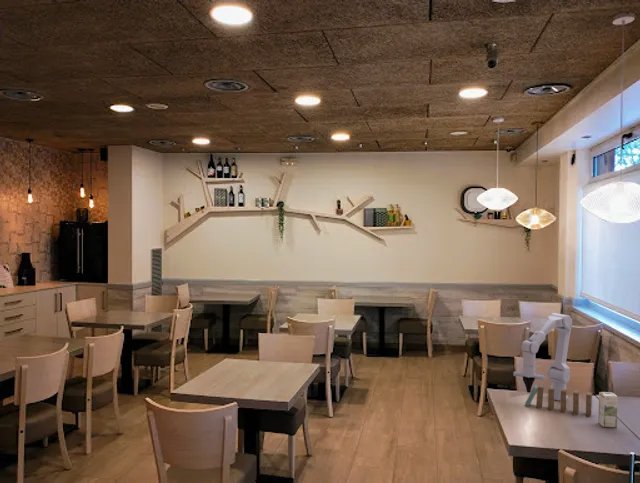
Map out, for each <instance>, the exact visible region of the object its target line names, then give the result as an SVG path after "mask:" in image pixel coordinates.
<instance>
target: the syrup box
mask: <svg viewBox="0 0 640 483" xmlns="http://www.w3.org/2000/svg"><path fill="white" fill-rule="evenodd" d="M618 402H619V401H618V395H616V394H615V393H613V392H609V391H608V392H607V391H599V392H598V420H597V421H598V422H597V423H598V424H599V425H600V426H602V427H603V428H611V429H612V428H615V429H616V428H617V426H618V425H617V424H618V423H617V422H618Z"/></svg>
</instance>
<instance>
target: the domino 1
mask: <svg viewBox="0 0 640 483" xmlns="http://www.w3.org/2000/svg"><path fill="white" fill-rule="evenodd" d="M538 387H539V385H537V384H534V386H533V388H532V389H531V392H530V393H529V395H528V397H527V400H526V401H525V403H524V405H525V406H527V407H530V405H531V404H532V401H533V399H534V398H535V396H536V394H537V391H538Z"/></svg>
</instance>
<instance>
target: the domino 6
mask: <svg viewBox="0 0 640 483" xmlns="http://www.w3.org/2000/svg"><path fill="white" fill-rule="evenodd" d="M592 396H593V392H586V394H585V417H588V418H591V416H592V401H593V400H592Z"/></svg>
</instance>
